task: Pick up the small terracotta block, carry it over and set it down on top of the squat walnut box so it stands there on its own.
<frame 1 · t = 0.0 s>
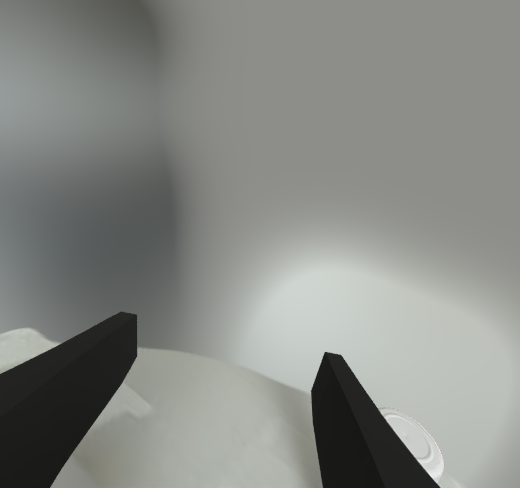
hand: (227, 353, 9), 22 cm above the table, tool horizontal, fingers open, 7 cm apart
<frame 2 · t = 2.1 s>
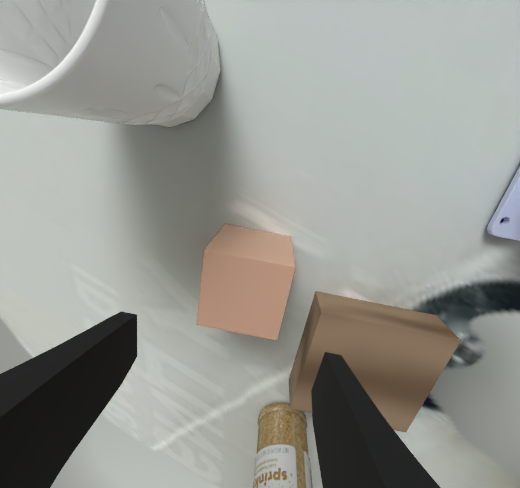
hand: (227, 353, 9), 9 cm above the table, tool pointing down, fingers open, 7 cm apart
walnut box: (354, 346, 20), on the table
sprinkles bottle: (282, 415, 23), on the table
terracotta block: (252, 259, 17), on the table
white cup: (163, 62, 14), on the table
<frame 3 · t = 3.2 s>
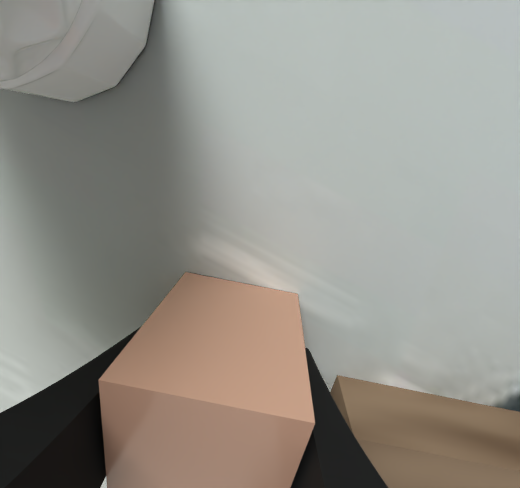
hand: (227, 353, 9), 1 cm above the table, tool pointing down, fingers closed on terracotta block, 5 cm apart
walnut box: (393, 446, 13), on the table
terracotta block: (233, 328, 11), on the table, touching gripper
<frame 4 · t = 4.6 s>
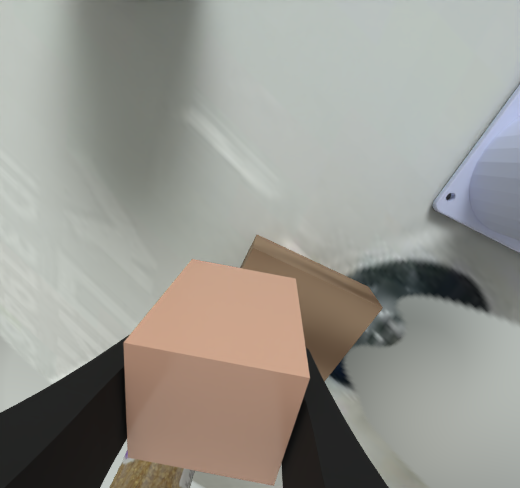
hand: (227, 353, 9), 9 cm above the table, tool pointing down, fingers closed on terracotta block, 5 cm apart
walnut box: (284, 305, 19), on the table
sprinkles bottle: (196, 367, 22), on the table
terracotta block: (236, 312, 11), point 6 cm above the table, touching gripper
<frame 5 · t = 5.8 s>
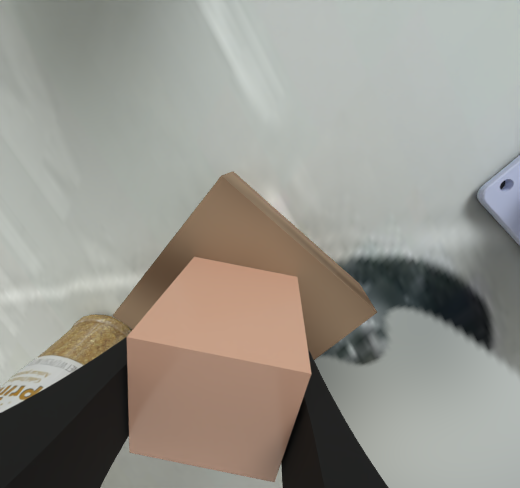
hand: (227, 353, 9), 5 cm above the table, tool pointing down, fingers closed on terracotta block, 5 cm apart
walnut box: (246, 282, 14), on the table
sprinkles bottle: (110, 338, 16), on the table
terracotta block: (238, 310, 11), point 3 cm above the table, touching gripper
when the fingers open (5 cm above the table, at t = 6.3 s): terracotta block stays where it is, resting on walnut box.
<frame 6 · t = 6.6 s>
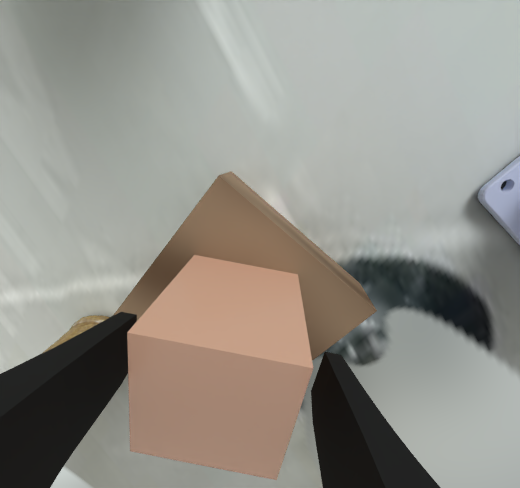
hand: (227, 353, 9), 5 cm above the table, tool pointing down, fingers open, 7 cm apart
walnut box: (245, 282, 14), on the table, touching terracotta block
sprinkles bottle: (109, 339, 16), on the table
terracotta block: (238, 308, 11), point 2 cm above the table, touching walnut box
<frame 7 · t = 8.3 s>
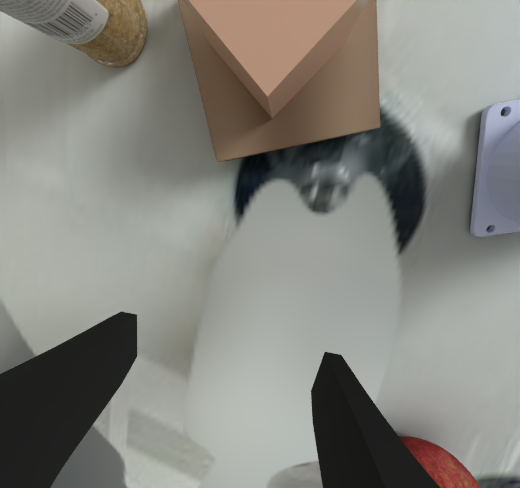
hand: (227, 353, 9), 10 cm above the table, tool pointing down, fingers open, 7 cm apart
walnut box: (281, 69, 15), on the table, touching terracotta block
fruit: (392, 443, 25), on the table
sprinkles bottle: (113, 26, 14), on the table
terracotta block: (275, 44, 12), point 2 cm above the table, touching walnut box
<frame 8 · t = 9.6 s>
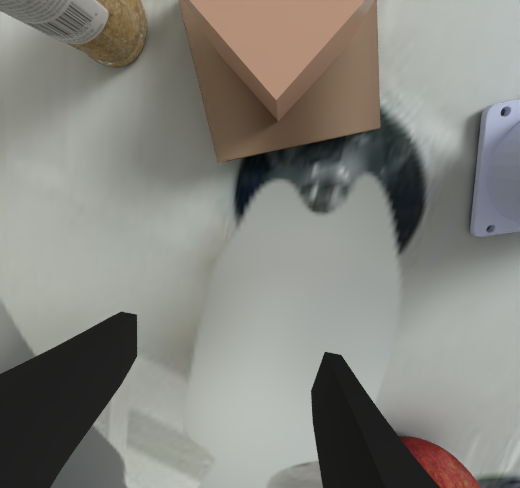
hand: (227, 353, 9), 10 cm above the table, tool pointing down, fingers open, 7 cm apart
walnut box: (281, 69, 15), on the table, touching terracotta block
fruit: (392, 443, 25), on the table
sprinkles bottle: (113, 26, 14), on the table
terracotta block: (280, 48, 12), point 2 cm above the table, touching walnut box
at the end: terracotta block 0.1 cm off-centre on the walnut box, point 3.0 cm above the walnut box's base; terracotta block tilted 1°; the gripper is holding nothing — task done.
